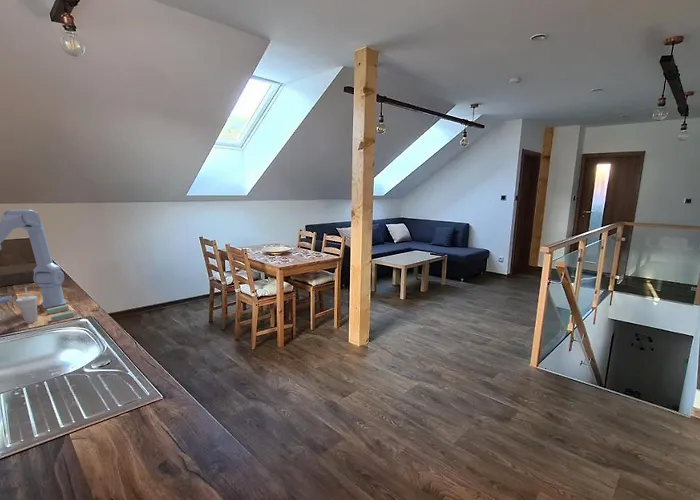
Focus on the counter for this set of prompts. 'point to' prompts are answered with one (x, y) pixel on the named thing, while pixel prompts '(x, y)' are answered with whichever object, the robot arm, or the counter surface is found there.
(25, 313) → the smoothie
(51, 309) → the slot
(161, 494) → the counter surface
